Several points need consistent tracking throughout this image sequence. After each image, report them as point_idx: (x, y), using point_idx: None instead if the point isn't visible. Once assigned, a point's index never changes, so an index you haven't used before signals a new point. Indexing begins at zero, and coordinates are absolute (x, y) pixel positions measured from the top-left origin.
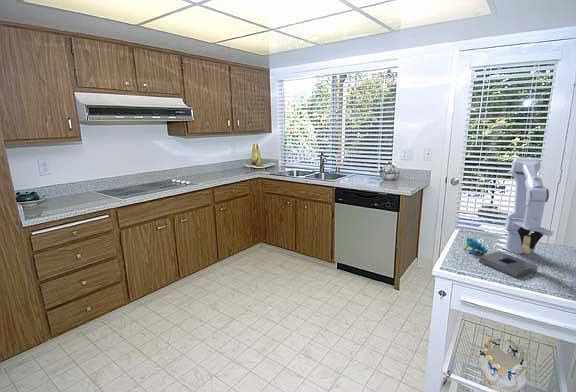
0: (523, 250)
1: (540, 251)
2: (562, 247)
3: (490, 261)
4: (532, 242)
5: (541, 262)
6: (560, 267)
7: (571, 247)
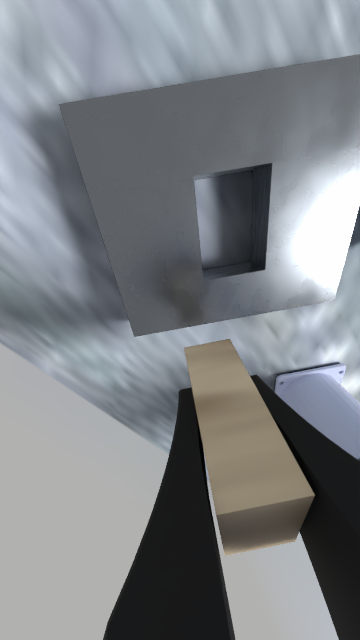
0: (219, 348)
1: None
2: None
3: (295, 68)
4: (178, 452)
5: None
6: (147, 413)
7: None
